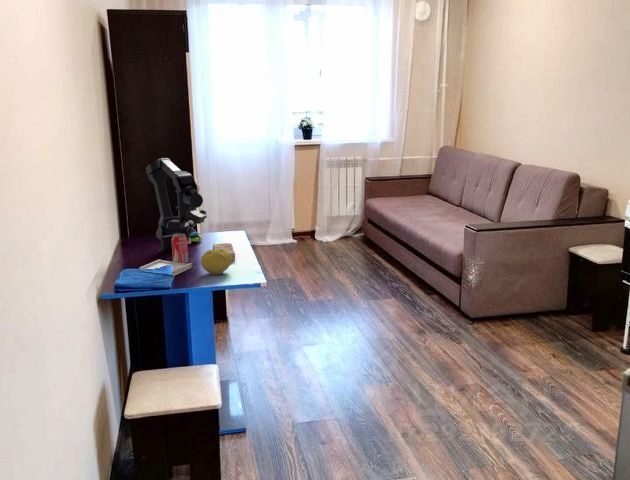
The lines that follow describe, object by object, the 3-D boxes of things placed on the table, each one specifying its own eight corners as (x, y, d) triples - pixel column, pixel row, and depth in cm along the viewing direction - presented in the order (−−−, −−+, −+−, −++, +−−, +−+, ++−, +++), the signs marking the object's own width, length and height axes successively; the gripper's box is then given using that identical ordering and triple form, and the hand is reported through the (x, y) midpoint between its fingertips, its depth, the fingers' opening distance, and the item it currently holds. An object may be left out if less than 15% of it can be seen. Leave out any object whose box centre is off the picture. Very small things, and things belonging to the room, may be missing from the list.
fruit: (233, 277, 227) (232, 252, 225) (201, 279, 225) (200, 253, 223) (231, 269, 238) (230, 244, 235) (201, 270, 236) (200, 246, 233)
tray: (139, 271, 235) (139, 267, 234) (159, 263, 246) (159, 259, 246) (173, 276, 229) (173, 272, 228) (192, 267, 241) (192, 263, 240)
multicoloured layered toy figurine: (193, 239, 286) (192, 224, 284) (204, 243, 279) (203, 228, 277) (177, 242, 281) (177, 227, 279) (188, 246, 274) (187, 230, 272)
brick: (235, 262, 248) (235, 251, 247) (215, 264, 246) (215, 253, 245) (231, 252, 263) (231, 242, 262) (212, 254, 262) (212, 243, 260)
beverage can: (174, 260, 249) (172, 233, 246) (189, 260, 250) (187, 232, 247) (172, 265, 243) (170, 236, 240) (187, 264, 244) (185, 236, 241)
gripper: (189, 209, 234) (191, 248, 238) (213, 201, 251) (215, 237, 255) (165, 207, 238) (167, 245, 242) (191, 200, 255) (192, 235, 259)
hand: (187, 241), depth 249 cm, fingers closed
